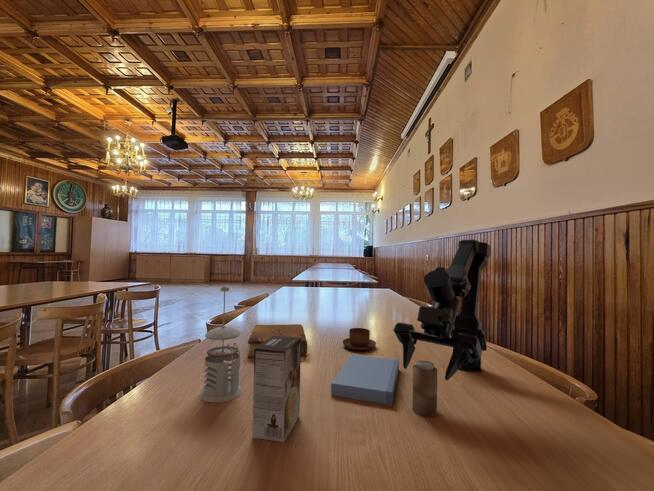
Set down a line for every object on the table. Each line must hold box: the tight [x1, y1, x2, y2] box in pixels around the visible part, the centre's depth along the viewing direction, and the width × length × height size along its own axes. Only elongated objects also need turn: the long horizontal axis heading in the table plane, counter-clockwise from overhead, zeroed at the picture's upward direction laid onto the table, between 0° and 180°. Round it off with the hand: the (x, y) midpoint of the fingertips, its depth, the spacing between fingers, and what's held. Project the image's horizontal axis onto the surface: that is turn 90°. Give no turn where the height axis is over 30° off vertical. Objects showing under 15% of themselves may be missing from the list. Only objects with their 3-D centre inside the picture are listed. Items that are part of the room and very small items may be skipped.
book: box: [330, 353, 400, 406], centre depth 79 cm, size 14×22×3 cm, turn 163°
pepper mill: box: [411, 360, 438, 418], centre depth 65 cm, size 5×5×10 cm
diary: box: [247, 323, 308, 359], centre depth 107 cm, size 23×19×6 cm
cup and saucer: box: [342, 327, 377, 351], centre depth 108 cm, size 12×12×6 cm
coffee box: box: [251, 336, 302, 443], centre depth 57 cm, size 9×6×16 cm
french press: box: [198, 285, 244, 403], centre depth 71 cm, size 10×12×25 cm
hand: (424, 373), depth 64 cm, fingers open, 9 cm apart
